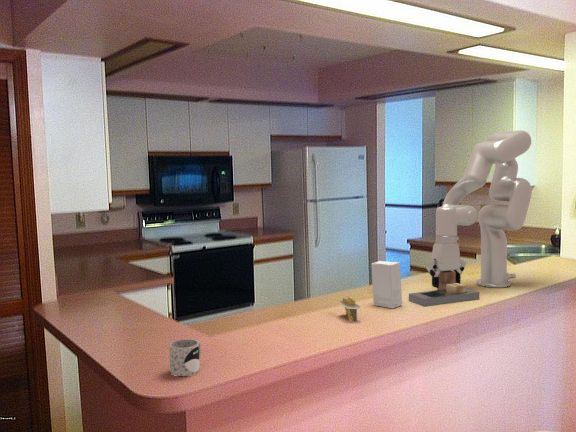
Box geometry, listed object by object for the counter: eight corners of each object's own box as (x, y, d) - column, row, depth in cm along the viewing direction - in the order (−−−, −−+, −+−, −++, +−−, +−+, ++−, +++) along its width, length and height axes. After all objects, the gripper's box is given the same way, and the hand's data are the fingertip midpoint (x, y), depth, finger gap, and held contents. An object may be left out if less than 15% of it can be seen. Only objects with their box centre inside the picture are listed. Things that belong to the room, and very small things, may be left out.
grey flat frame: (462, 293, 193) (462, 287, 193) (479, 299, 185) (479, 292, 185) (408, 300, 185) (408, 293, 185) (424, 306, 176) (424, 298, 176)
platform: (342, 329, 154) (342, 307, 153) (320, 314, 171) (320, 294, 170) (379, 325, 157) (379, 303, 157) (354, 310, 174) (354, 291, 174)
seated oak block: (456, 296, 190) (456, 282, 189) (465, 299, 185) (465, 285, 185) (446, 298, 188) (446, 284, 187) (454, 300, 184) (454, 286, 183)
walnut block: (447, 290, 199) (447, 269, 198) (455, 293, 195) (455, 271, 194) (437, 292, 197) (437, 270, 197) (445, 294, 193) (445, 272, 192)
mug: (189, 378, 117) (188, 349, 117) (164, 375, 120) (163, 346, 119) (212, 363, 127) (211, 336, 126) (188, 360, 129) (187, 333, 129)
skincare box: (402, 305, 178) (402, 262, 176) (391, 309, 173) (391, 264, 172) (381, 302, 184) (381, 259, 183) (371, 305, 180) (370, 261, 178)
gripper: (458, 237, 201) (458, 281, 202) (420, 240, 195) (420, 286, 196) (472, 239, 194) (471, 285, 195) (433, 242, 188) (433, 290, 189)
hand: (446, 285), depth 196 cm, fingers open, 9 cm apart
